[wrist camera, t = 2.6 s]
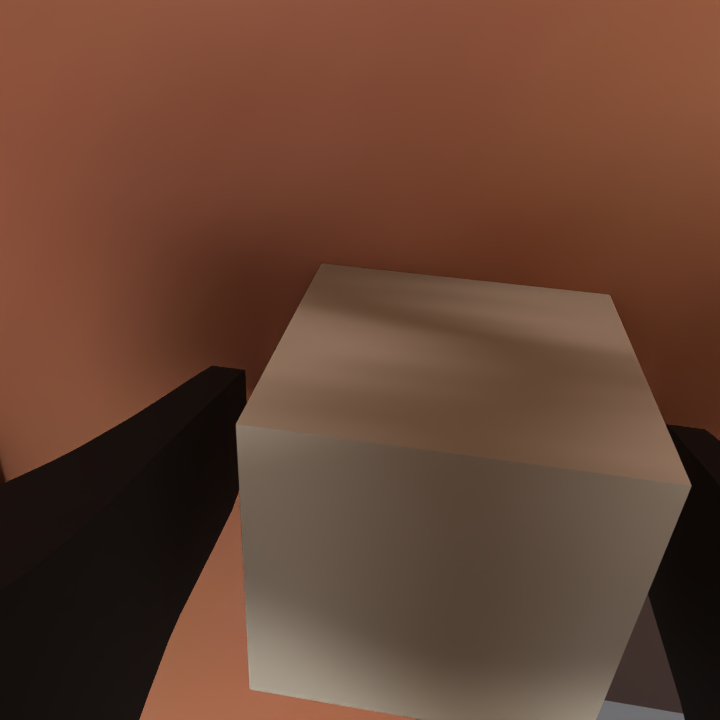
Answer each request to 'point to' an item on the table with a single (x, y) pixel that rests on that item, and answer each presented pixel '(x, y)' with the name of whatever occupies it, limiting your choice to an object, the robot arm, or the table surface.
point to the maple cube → (450, 498)
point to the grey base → (643, 677)
